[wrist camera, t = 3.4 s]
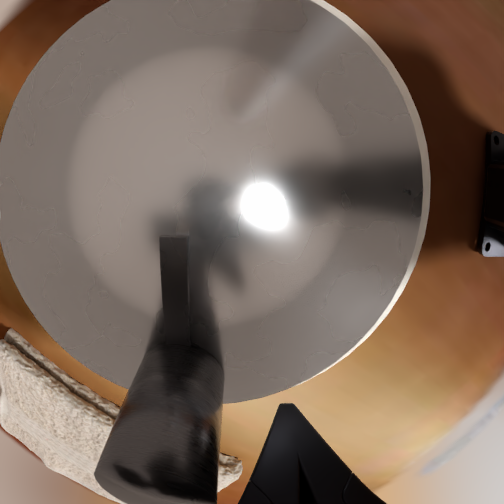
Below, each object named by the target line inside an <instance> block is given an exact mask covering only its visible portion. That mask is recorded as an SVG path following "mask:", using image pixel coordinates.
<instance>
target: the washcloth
mask: <svg viewBox="0 0 504 504" xmlns="http://www.w3.org/2000/svg"><path fill="white" fill-rule="evenodd" d="M120 408H121V407H118V406H116V405H115V404H114V403H112V402H110V401H108V400H107V399H104V398H102V397H100V396H99V395H98V394H97V393H95V392H93V391H92V390H91V389H89V388H88V387H87V386H85V385H82V384H80V383H78V382H77V381H76V380H75V379H73V378H71V377H70V376H69V375H68V374H67V373H66V372H65V371H63V370H62V369H60V368H58V367H57V366H56V365H55V364H54V363H53V362H51V361H50V360H49V359H48V358H46V357H45V356H43V355H42V354H41V353H40V352H39V351H38V350H36V349H35V348H34V347H33V346H32V345H31V344H30V343H29V342H27V341H26V340H25V339H24V338H23V337H22V336H21V335H20V334H19V333H18V332H16V331H15V330H14V329H13V328H10V329H9V330H8V331H7V333H6V335H5V338H4V340H3V339H1V340H0V423H1V426H2V427H3V428H4V429H5V430H6V431H7V432H8V433H10V434H11V435H13V436H15V437H16V438H18V439H19V440H20V441H21V442H22V443H24V444H25V445H26V446H27V447H28V448H29V449H30V450H31V451H33V452H34V453H35V454H36V455H37V456H39V457H40V458H41V459H42V461H43V462H44V464H45V466H47V467H48V468H49V469H51V470H53V471H55V472H58V473H60V474H63V475H65V476H67V477H69V478H70V479H72V480H74V481H76V482H78V483H80V484H82V485H83V486H85V487H87V488H89V489H91V490H92V491H94V492H96V493H97V494H99V495H102V496H104V497H106V498H108V499H110V500H113V501H116V502H118V503H121V504H127V503H124V502H122V501H121V500H119V499H117V498H115V497H114V496H112V495H111V494H109V493H108V492H107V491H106V490H104V489H103V488H102V487H101V486H100V485H99V484H98V482H97V481H96V479H95V476H94V472H95V469H96V467H97V464H98V461H99V459H100V456H101V454H102V451H103V449H104V446H105V444H106V441H107V439H108V437H109V434H110V432H111V429H112V427H113V425H114V422H115V420H116V418H117V415H118V413H119V411H120ZM241 463H242V460H238V459H237V458H234V456H227V455H224V454H221V453H220V454H219V471H218V490H217V492H219V491H220V490H221V489H223V488H226V487H227V486H228V485H229V484H231V483H232V482H234V481H235V480H238V478H239V476H240V475H241V473H242V465H241Z"/></svg>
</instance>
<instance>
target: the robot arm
mask: <svg viewBox="0 0 504 504" xmlns="http://www.w3.org/2000/svg"><path fill="white" fill-rule="evenodd" d="M485 245H486V246H485ZM477 249H478V252H479V254H482V255H484V256H495V257H504V134H502V133H500V132H497V131H488V132H487V134H486V172H485V189H484V201H483V210H482V218H481V226H480V233H479V239H478V245H477ZM238 504H386V503H385V502H384V501H383V500H381V499H380V498H379V497H378V496H377V495H375V494H374V493H373V492H372V491H371V490H370V489H369V488H368V487H366V486H365V485H364V484H363V483H362V482H361V481H360V479H359V478H358V477H357V476H356V475H355V474H354V473H352V471H351V470H350V469H349V468H348V466H347V465H346V464H345V463H344V462H343V461H342V460H341V459H340V457H339V456H338V455H337V454H336V453H335V452H334V451H333V450H332V448H331V447H330V446H329V445H328V444H327V443H326V441H325V440H324V439H323V438H322V437H321V436H320V434H319V433H318V432H317V431H316V430H315V429H314V427H313V426H312V425H311V424H310V423H309V421H308V420H307V419H306V418H305V417H304V415H303V414H302V413H301V412H300V411H299V409H298V408H297V407H296V406H295V405H294V404H293V403H284V404H280V405H279V407H278V409H277V412H276V415H275V417H274V420H273V423H272V425H271V428H270V431H269V433H268V436H267V438H266V441H265V443H264V446H263V448H262V451H261V453H260V456H259V458H258V461H257V463H256V465H255V468H254V470H253V473H252V475H251V477H250V480H249V482H248V484H247V486H246V488H245V491H244V493H243V495H242V497H241V499H240V500H239V502H238Z"/></svg>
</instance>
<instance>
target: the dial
mask: <svg viewBox="0 0 504 504" xmlns="http://www.w3.org/2000/svg"><path fill="white" fill-rule="evenodd" d="M422 201H423V175H422V162H421V154H420V149H419V145H418V140H417V136H416V132H415V128H414V124H413V121H412V119H411V116H410V113H409V111H408V108H407V106H406V103H405V101H404V98H403V96H402V94H401V92H400V90H399V89H398V87H397V85H396V83H395V82H394V80H393V78H392V76H391V75H390V73H389V71H388V70H387V68H386V67H385V65H384V64H383V63H382V62H381V60H380V59H379V58H378V56H377V55H376V54H375V53H374V51H373V50H372V49H371V48H370V46H369V45H368V44H367V43H366V42H365V41H364V40H363V39H362V38H361V37H360V36H359V35H358V34H357V33H356V32H354V31H353V30H352V29H351V28H350V27H349V26H348V25H347V24H346V23H345V22H343V21H342V20H341V19H339V18H338V17H336V16H335V15H333V14H332V13H331V12H329V11H328V10H326V9H325V8H323V7H322V6H320V5H318V4H317V3H315V2H313V1H311V0H110V1H108V2H107V3H105V4H103V5H102V6H100V7H98V8H97V9H95V10H94V11H92V12H90V13H89V14H87V15H86V16H84V17H83V18H82V19H81V20H79V21H78V22H77V23H76V24H74V25H73V26H72V27H71V28H70V29H68V30H67V31H66V32H65V33H64V34H63V35H62V36H61V37H60V38H59V39H58V40H57V41H56V42H55V43H54V44H53V45H52V46H51V47H50V48H49V49H48V50H47V52H46V53H45V54H44V55H43V56H42V58H41V59H40V60H39V62H38V63H37V64H36V66H35V67H34V69H33V70H32V71H31V73H30V74H29V76H28V77H27V79H26V81H25V82H24V84H23V86H22V88H21V90H20V92H19V93H18V95H17V97H16V99H15V101H14V103H13V106H12V108H11V111H10V113H9V116H8V119H7V121H6V124H5V127H4V130H3V134H2V138H1V142H0V242H1V246H2V250H3V253H4V257H5V259H6V262H7V265H8V268H9V270H10V273H11V275H12V278H13V280H14V282H15V284H16V286H17V288H18V290H19V292H20V294H21V296H22V298H23V299H24V301H25V303H26V304H27V306H28V307H29V309H30V310H31V312H32V313H33V315H34V316H35V318H36V319H37V320H38V322H39V323H40V324H41V325H42V327H43V328H44V329H45V330H46V331H47V332H48V333H49V335H50V336H51V337H52V338H53V339H54V340H55V341H56V342H57V343H58V344H59V345H60V346H61V347H62V348H63V349H64V350H66V351H67V352H68V353H69V354H70V355H71V356H72V357H74V358H75V359H76V360H78V361H79V362H80V363H82V364H83V365H84V366H86V367H87V368H89V369H90V370H91V371H93V372H95V373H96V374H98V375H100V376H102V377H104V378H105V379H107V380H109V381H111V382H113V383H115V384H117V385H119V386H122V387H124V388H126V389H129V390H128V392H127V395H126V397H125V399H124V401H123V404H122V406H121V408H120V411H119V413H118V415H117V418H116V420H115V422H114V425H113V427H112V429H111V432H110V434H109V437H108V439H107V441H106V444H105V446H104V449H103V451H102V454H101V456H100V459H99V461H98V464H97V467H96V469H95V472H94V476H95V479H96V481H97V482H98V484H99V485H100V486H101V487H102V488H103V489H104V490H106V491H107V492H108V493H109V494H111V495H112V496H114V497H115V498H117V499H119V500H121V501H122V502H124V503H127V504H217V490H218V471H219V454H220V438H221V423H222V408H223V404H226V403H237V402H242V401H247V400H252V399H257V398H262V397H265V396H268V395H271V394H274V393H277V392H280V391H283V390H286V389H289V388H291V387H293V386H295V385H297V384H299V383H301V382H303V381H306V380H308V379H310V378H312V377H313V376H315V375H316V374H318V373H320V372H321V371H323V370H324V369H326V368H327V367H329V366H331V365H332V364H334V363H335V362H336V361H337V360H339V359H340V358H341V357H342V356H343V355H345V354H346V353H347V352H348V351H349V350H351V349H352V348H353V347H354V346H355V345H356V344H357V343H358V342H359V341H360V340H361V339H362V338H363V337H364V336H365V335H366V334H367V333H368V331H369V330H370V329H371V328H372V327H373V326H374V325H375V323H376V322H377V321H378V319H379V318H380V317H381V315H382V314H383V312H384V311H385V310H386V308H387V307H388V305H389V304H390V302H391V301H392V299H393V297H394V295H395V293H396V291H397V290H398V288H399V286H400V284H401V282H402V280H403V278H404V276H405V274H406V271H407V268H408V266H409V263H410V260H411V257H412V254H413V252H414V249H415V245H416V240H417V236H418V231H419V226H420V221H421V214H422Z"/></svg>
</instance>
